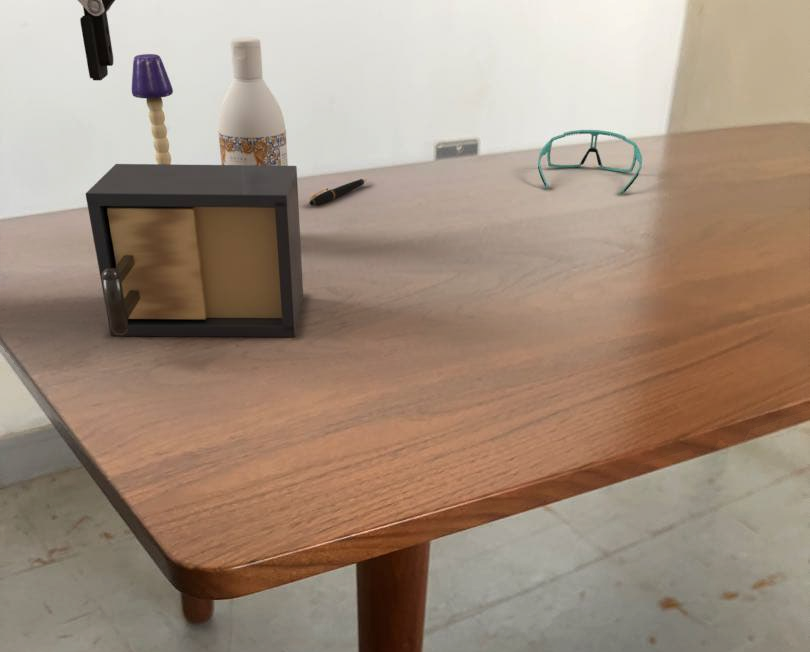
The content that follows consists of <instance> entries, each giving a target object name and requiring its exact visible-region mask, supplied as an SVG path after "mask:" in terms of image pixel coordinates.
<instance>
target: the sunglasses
mask: <svg viewBox="0 0 810 652" xmlns="http://www.w3.org/2000/svg"><path fill="white" fill-rule="evenodd" d="M574 135H591V139H590V140H591V141H590V145H589V146H590V147H589V149H587V151H586V153H585V154H584V155H583V158H581V160H580V162H579V164H555V163H552V161H551V153H552V152H551V151H552V147H553V146H552V145H553V142H554V141H556V140H559V139H563V138H566V136H567V137H569V136H574ZM599 135H601V136H602V135H603V136H608V137H613V138H616V139H620V140H622V141H624V142H626V143H628V144H630V145H631V146H633V158H632V163H631V166H630V168H625V169H624V168H614V167H607V166H603V163H602V159H601V157H600V154H599V150H598V148H597V144H598V143H597V141H598V136H599ZM590 153H595V156H596V161H597V165H598V167H600V169H602V170H606V171H611V172H612V171H613V172H619V173H631V172H633V171H634V169H635V166H636V162H638V168H637V169H636V172H635V173H634V175H633V176H632V178H630V180H629V182H628V183H627V184H626V185H625V186H624V187H623V188H622V189H621V191H620V194H621V195H623V194H624V193H626V192H627V190H628V189H629V188H630V187H631V186H632V185H633V183H634V182H635V180H637V178H638V176H639V175H640V172H641V169H642V165H643V155H642V153H641V150H640V148H639V147H638V145H637V143H636V142H635V141H632V140H631V139H628V138H627V137H626V136H625V135H622V134H621V133H616V132H613V131H607V130H601V129H579V130H578V129H577V130H570V131H565V132H563V133H562V134H559V135H556V136H554V137H553V136H552V137H551V138H550V139H549V141H548V142H547V141H546V143H545V144H544V146H543V147H542V148H541V150H540V152H539V156H538V160H537V169H538V173H539V176H540V179H541V181H542V183H543V186H544V187H545V189H549V184H548V181H547V179H546V178H545V175H544V172H543V168H542V165H541V160H542V157H543V156H546V161H547V165H548V167H549V168H559V169H560V168H561V169H562V168H565V169H569V168H571V169H572V168H574V169H575V168H580V167H582V166H583V165H584V164H585V162H586V160H587V158H588V156H589V154H590Z"/></svg>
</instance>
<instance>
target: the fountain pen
mask: <svg viewBox="0 0 810 652" xmlns="http://www.w3.org/2000/svg"><path fill="white" fill-rule="evenodd" d="M367 180H368V178H366V179H364V178H363V179H362V178H359V179H357V180H354V181H351V182H348V183H345V184H343V185H340V186H337V187H335V188H332V189H329V188H328V187H327V188H324V189H322V190H320V191H318V192H316V193H314V194H313V195H311V196H310V197H309V199H310V200H309V205H310V206H311V207H314V206H319V205H322V204H326V203H329V202H330V201H333V200H335V199H336V198H339V197H341V196H343V195H345V194H348V193H349V192H351V191H353V190H356V189H357V188H359V187H361V186H364V185H365V182H367Z"/></svg>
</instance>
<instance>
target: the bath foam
mask: <svg viewBox="0 0 810 652" xmlns="http://www.w3.org/2000/svg"><path fill="white" fill-rule="evenodd" d="M230 52H231V63H232V64H231V66H232V75H233V80H232V81H231V84H230V86H229V88H228V90H227V92H226V94H225V96H224V99H223V101H222V103H221V106H220V110H219V115H218V127H217V128H218V131H217V132H218V142H219V153H220V163H221V164H220V165H270V166H289V163H288V162H289V161H288V145H287V130H286V123H285V119H284V115H283V111H282V110H281V109H282V108H281V107H280V104H279V103H278V101H277V98H276V97H275V96H274V94H273V93H272V91H271V90H270V88H269V86H268V85H267V83H266V81H265V80H264V78H263V62H262V47H261V39H260V38H259V37H258V38H257V37H250V36H249V37H248V36H246V37H245V36H244V37H232V38H231V39H230Z"/></svg>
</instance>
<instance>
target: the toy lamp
mask: <svg viewBox="0 0 810 652" xmlns="http://www.w3.org/2000/svg"><path fill="white" fill-rule="evenodd" d="M131 75H132V76H131V95H132V96H133V97H135V98H138V99H145V101H146V106H147V108H148V110H149V111H148V118H149V122H150V123H151V126H150V130H151V134H152V137H153V141H152V143H153V148H154V150H155V161H156V164H171V163H172V156H171V153H170V151H169V150H170V142H169V139H168V137H167V136H168V135H167V134H168V129H167V126H166V124H165V121H166V115H165V113H164V110H163V107H164V104H163V103H164V102H163V99H162V98H166V97H169V96H171V95H173V93H174V89H173V86H172V83H171V80H170V78H169V75H168V73H167V70H166V67H165V65H164V62H163V60H162V58H161V56H160V55H159V54H155V53H145V54H138V55H135V56H134V58H133V61H132V74H131Z"/></svg>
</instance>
